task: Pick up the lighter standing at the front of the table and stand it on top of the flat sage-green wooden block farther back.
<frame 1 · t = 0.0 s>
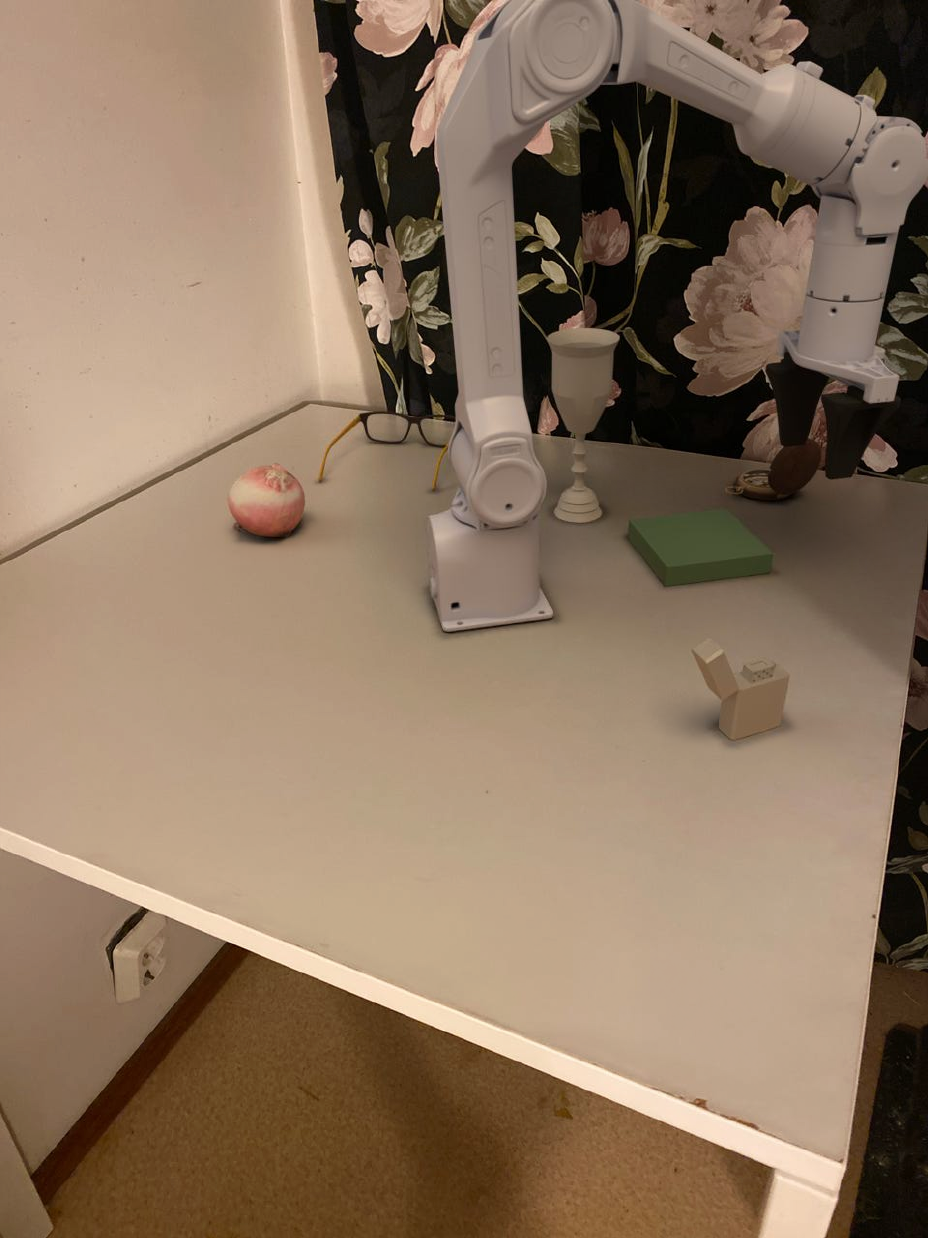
hand: (814, 460, 74), 10 cm above the table, tool pointing down, fingers open, 7 cm apart
lighter: (731, 733, 60), on the table
chalice: (577, 513, 91), on the table
block: (695, 554, 82), on the table
onion: (270, 532, 90), on the table
eyeglasses: (397, 465, 105), on the table
compass: (760, 496, 93), on the table
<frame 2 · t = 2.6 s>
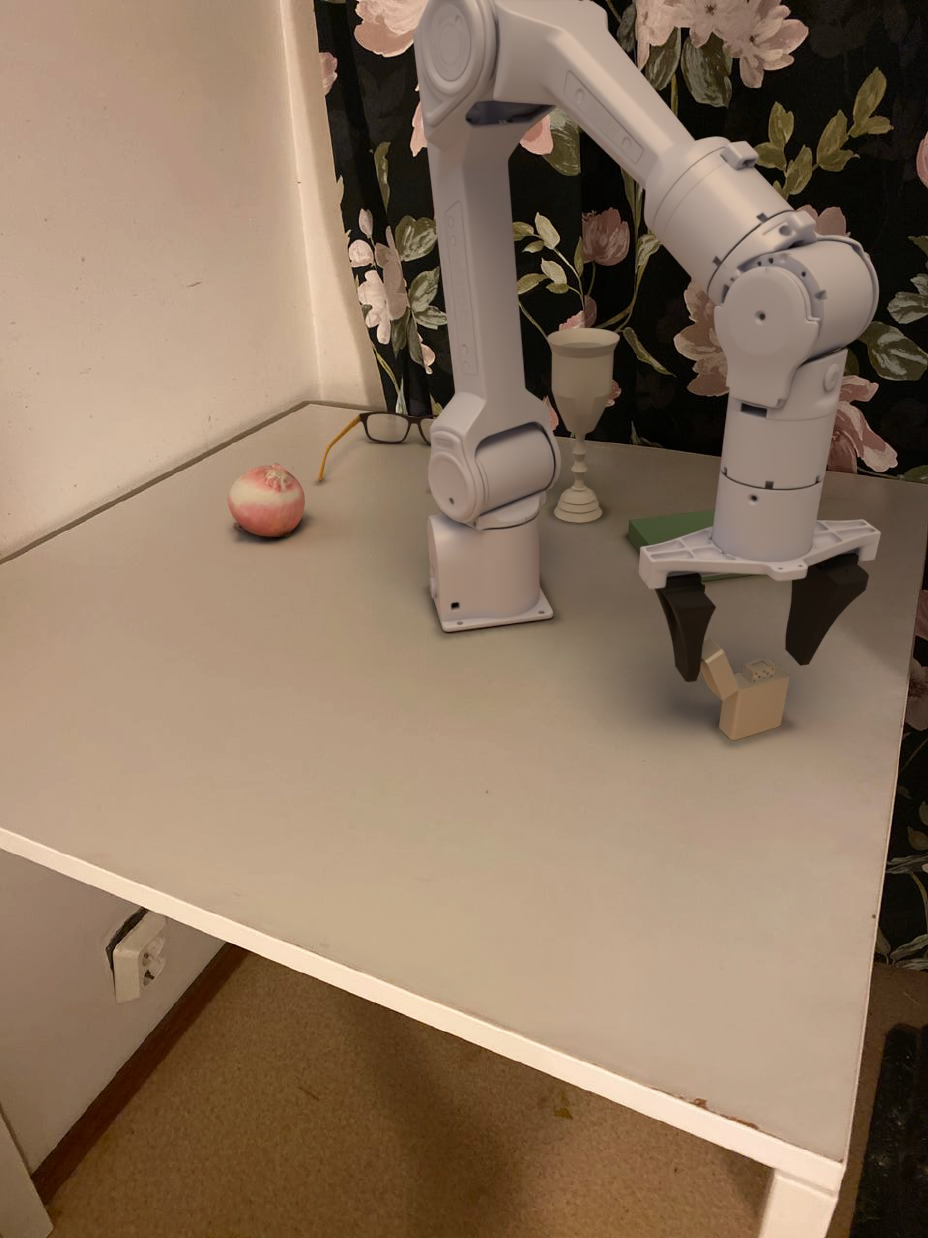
hand: (741, 665, 57), 6 cm above the table, tool pointing down, fingers open, 7 cm apart
lighter: (731, 733, 60), on the table, touching gripper
everything else where it was.
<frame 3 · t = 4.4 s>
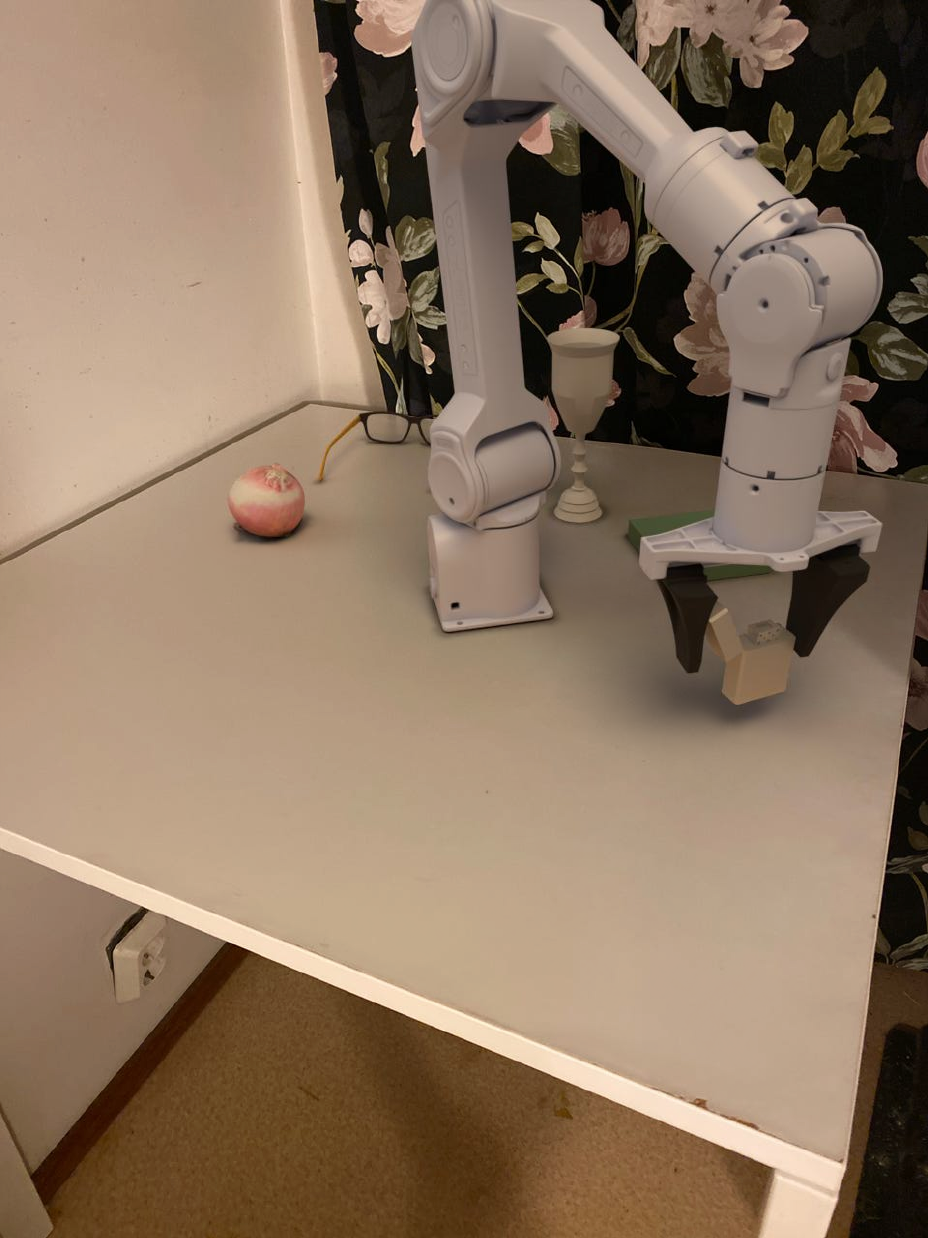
hand: (742, 656, 57), 6 cm above the table, tool pointing down, fingers closed on lighter, 7 cm apart
lighter: (734, 698, 58), point 3 cm above the table, touching gripper
everything else where it was.
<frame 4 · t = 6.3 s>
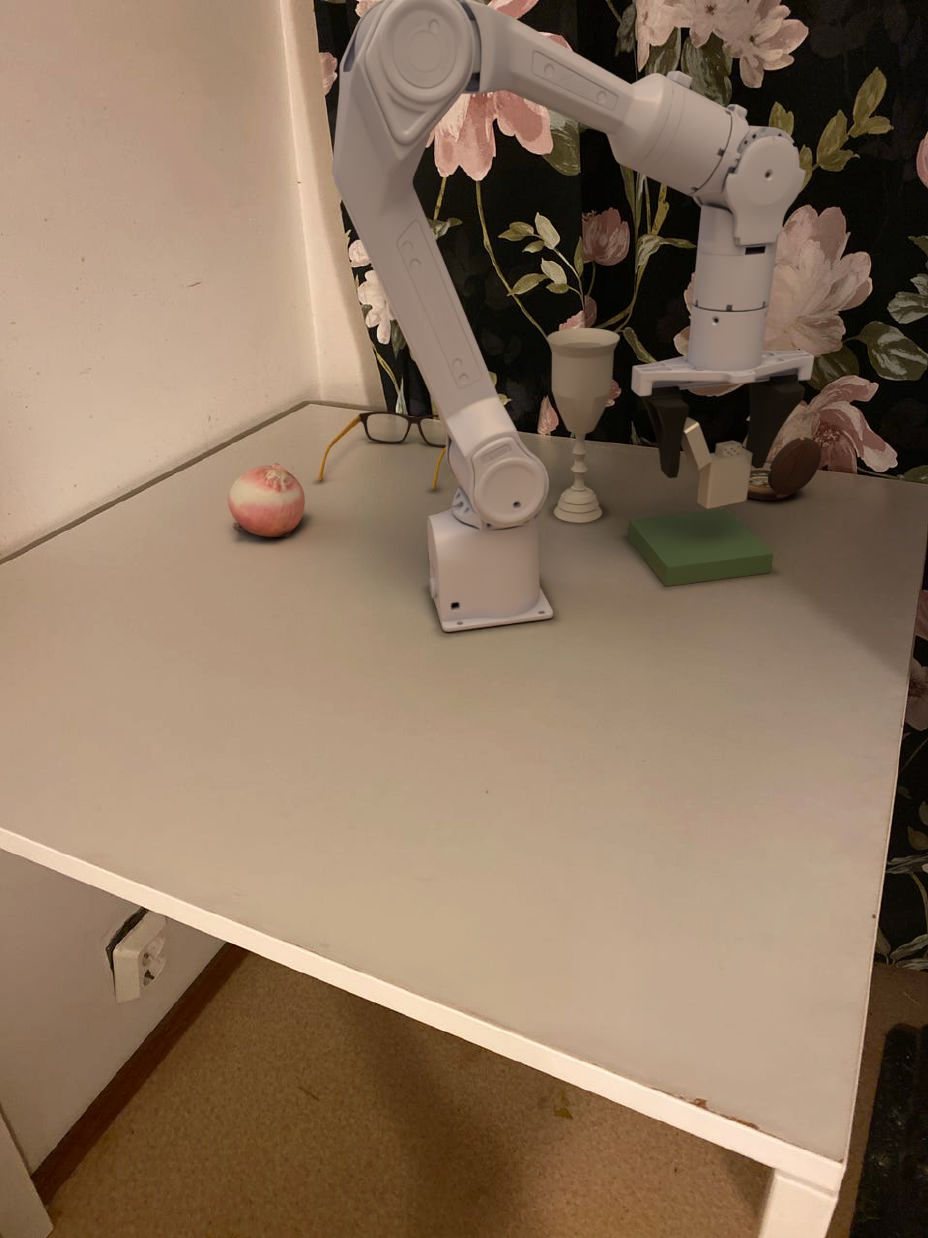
hand: (711, 468, 74), 10 cm above the table, tool pointing down, fingers closed on lighter, 7 cm apart
lighter: (707, 505, 76), point 6 cm above the table, touching gripper
everything else where it was.
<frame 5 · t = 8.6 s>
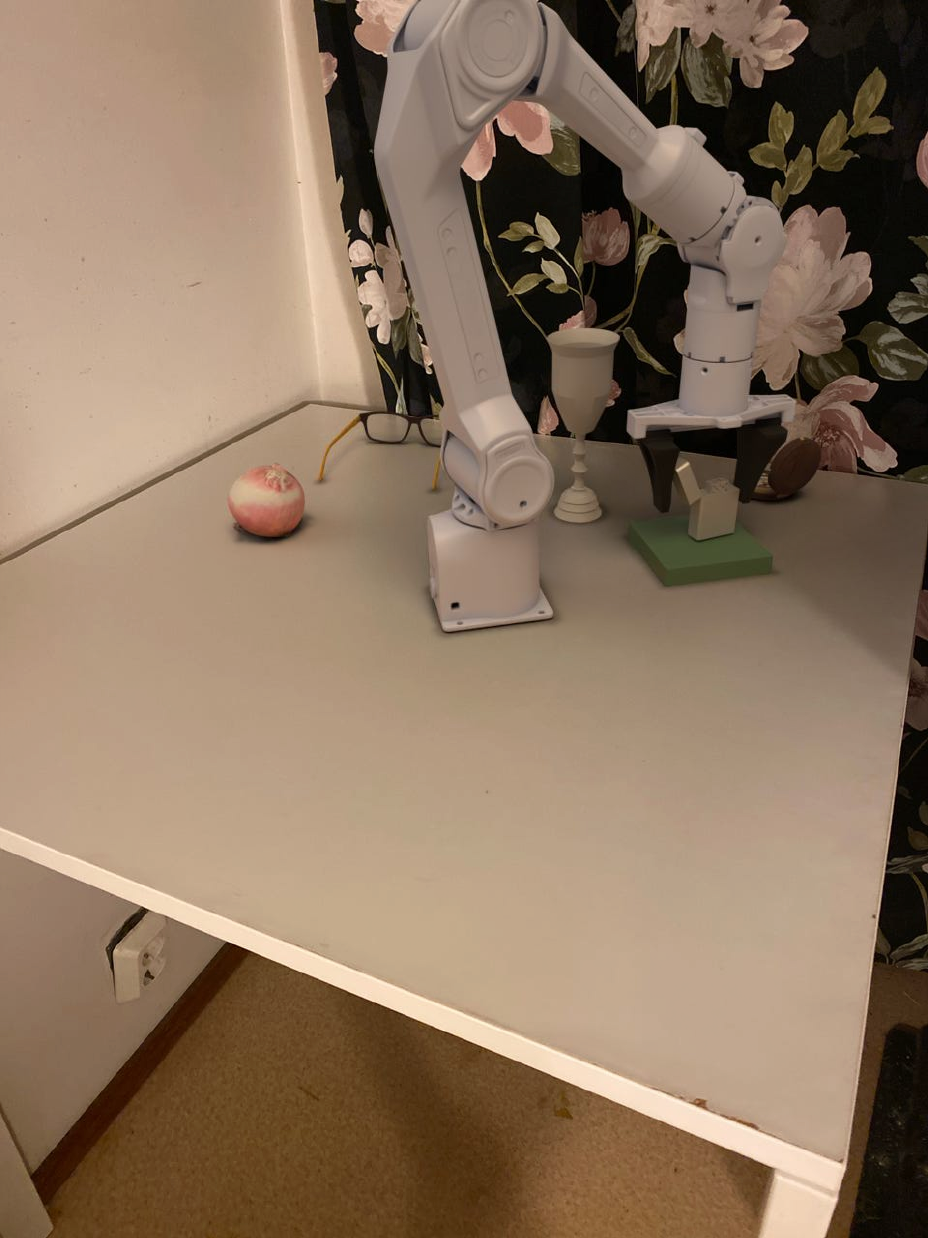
hand: (701, 503, 79), 5 cm above the table, tool pointing down, fingers closed on lighter, 7 cm apart
lighter: (697, 537, 81), point 2 cm above the table, touching gripper
everything else where it was.
when the fingers open (7 cm above the table, at t = 9.3 s): lighter stays where it is, resting on block.
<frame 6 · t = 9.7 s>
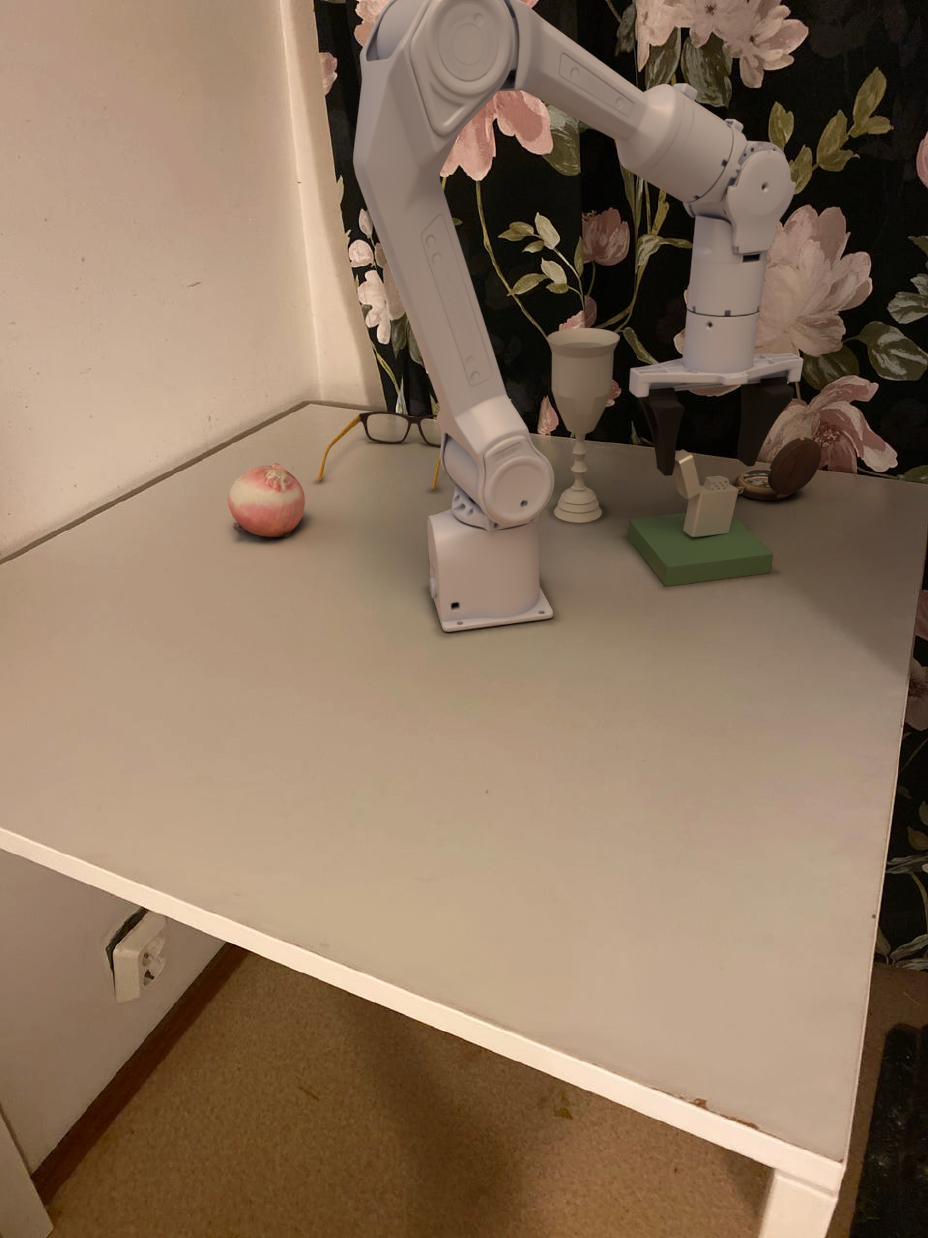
hand: (705, 466, 77), 9 cm above the table, tool pointing down, fingers open, 7 cm apart
lighter: (692, 534, 81), point 2 cm above the table, touching block, gripper
block: (695, 554, 82), on the table, touching lighter
everything else where it was.
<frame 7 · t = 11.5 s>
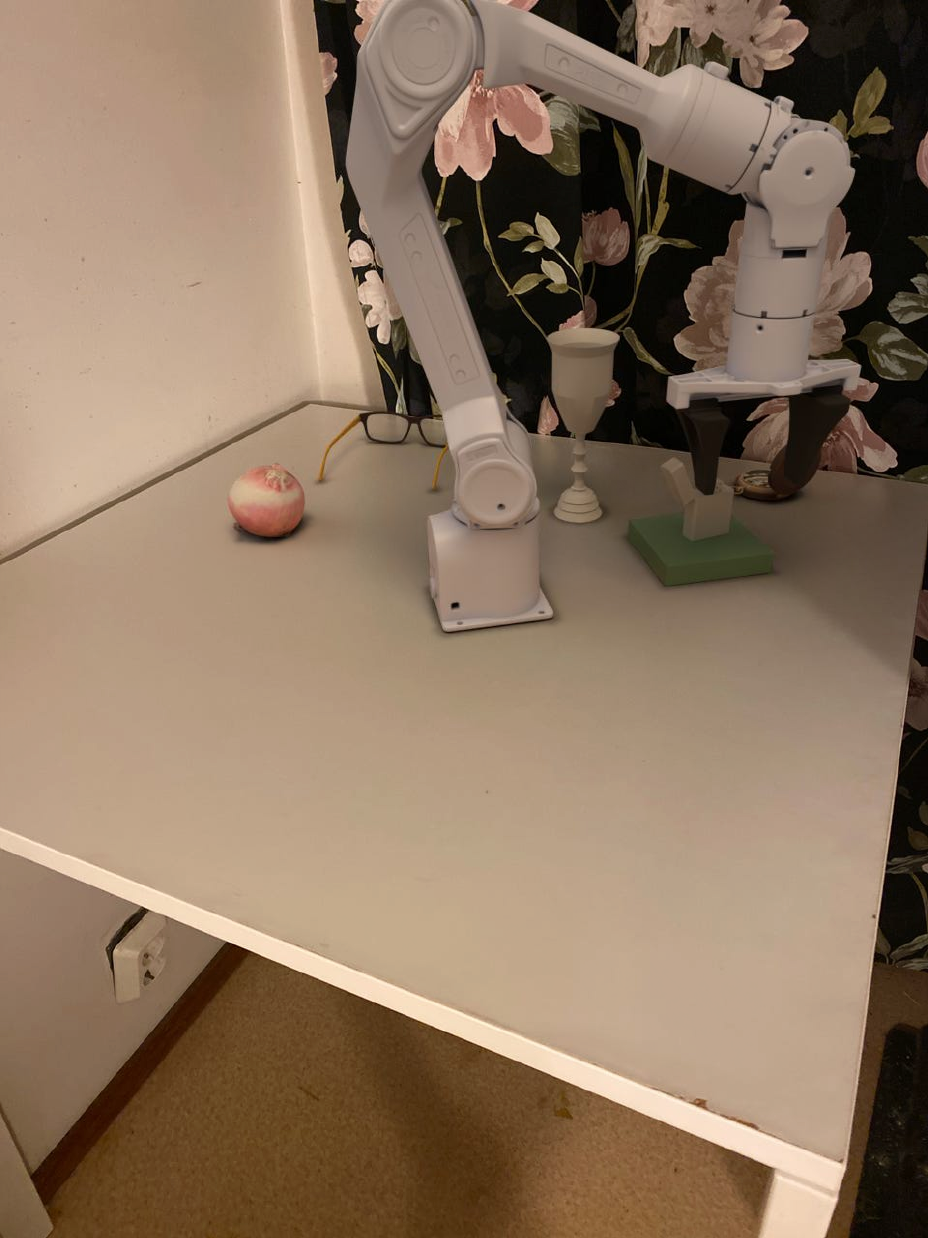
hand: (749, 485, 70), 10 cm above the table, tool pointing down, fingers open, 7 cm apart
lighter: (691, 538, 81), point 2 cm above the table, touching block
everything else where it was.
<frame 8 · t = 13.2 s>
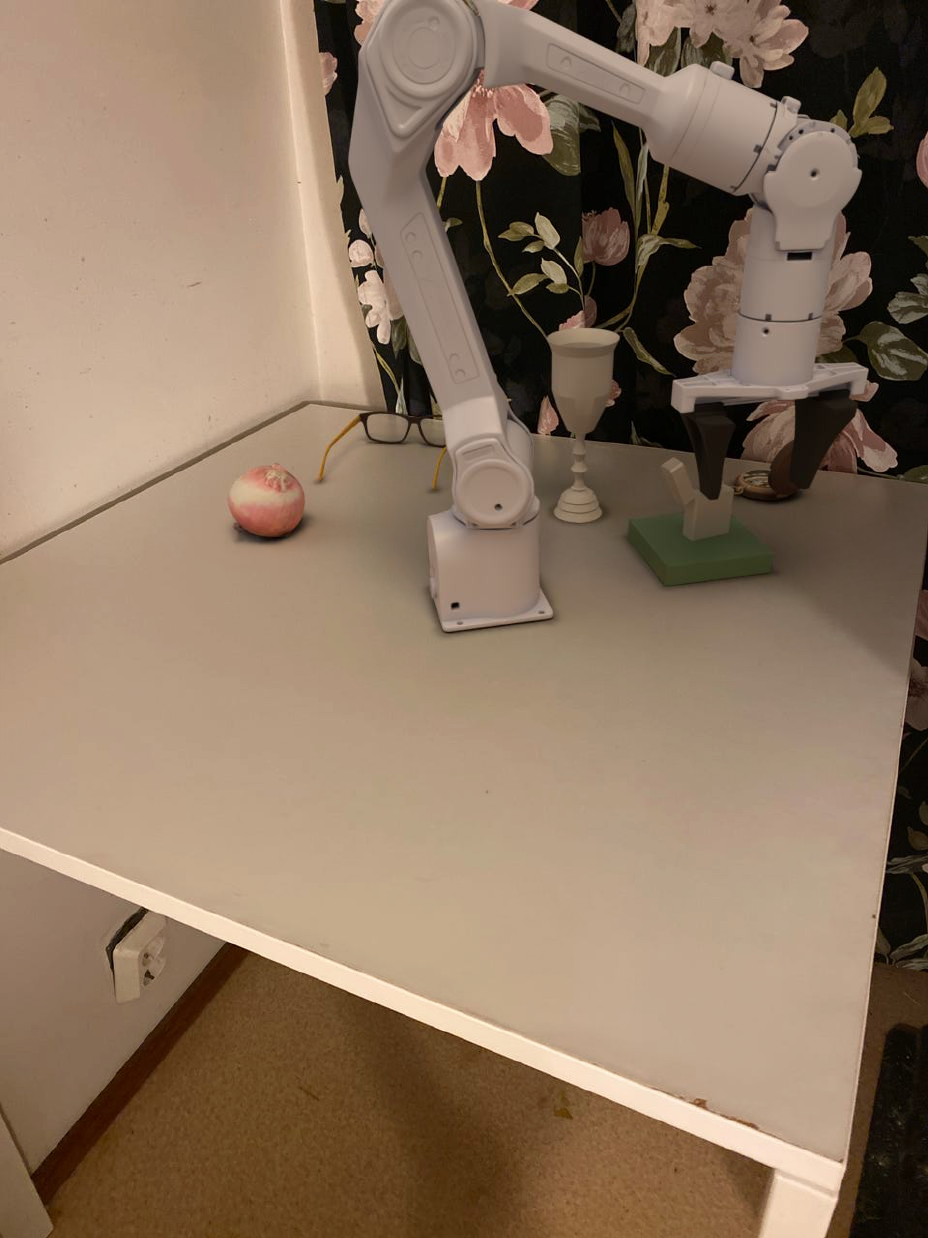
hand: (754, 489, 69), 10 cm above the table, tool pointing down, fingers open, 7 cm apart
nothing on the table moved.
at the end: lighter 0.6 cm off-centre on the block, point 1.8 cm above the block's base; lighter tilted 0° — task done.
